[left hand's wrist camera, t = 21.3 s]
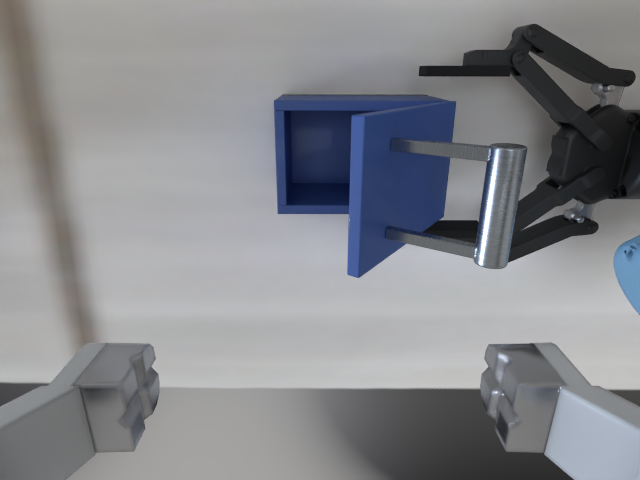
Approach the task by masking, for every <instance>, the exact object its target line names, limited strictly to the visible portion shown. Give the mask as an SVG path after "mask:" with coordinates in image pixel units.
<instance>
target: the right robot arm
mask: <svg viewBox="0 0 640 480" xmlns="http://www.w3.org/2000/svg"><path fill="white" fill-rule="evenodd" d="M529 51H531V52H532V53H534V54H536V55H537V56H539V57H541V58H542V59H544V60H546V61H548V62H549V63H551V64H553V65H554V66H556V67H558V68H560V69H561V70H563V71H565V72H566V73H568V74H570V75H571V76H573V77H575V78H577V79H578V80H580V81H582V82H585V83H589V84H592V85H591V90H592V92H593V93H594V94H596V95H598V96H599V98H600V104H598V105H595V106H594V107H592V108H591V109H589V110H587V111H586V112H585V111H584V110H583V109H582V108H581V107H579V106H577V105H576V104H575V103H574V102H573V101H572V100H571V99H570V98H569V97H568V96H567V95H566V94H565V92H564V91H563V90H562V89H561V88H560V87H559V86H558V85H557V84H556V83H555V82H554V81H553V80H552V79H551V78H550V77H549V75H548V74H547V73H546V72H545V71H544V70H543V69H542V68H541V67H540V66H539V65H538V64H537V63H536V62H535V61H534V60H533V58H532V57H531V56H530V55H529V54H528V53H529ZM510 74H511V75H512V76H513V77H514V78H515V79H516V80H517V81H518V82H519V83H520V84H521V85H522V86H523V87H524V88H525V89H526V90H527V91H528V92H529V93H530V94H531V95H532V96H533V97H534V98H535V99H536V100H537V102H538V103H539V104H540V105H541V106H542V107H543V108H544V109H545V110H546V111H547V112H548V113H549V114H550V117H551V118H552V119H553V120H554V121H555V122H556V124H557V125H558V126H559V127H560V128H561V129H560V130H559V131H558V132H557V134H556V135H553V138H552V143H551V147H552V154H551V156H550V159H549V161H548V164H547V169H546V171H548V172H549V175H550V176H549V177H548V178H547V179H545V180H544V181H542V182H541V183H539V184H538V185H537V188H536V189H535V190H534V191H533V192H531V193H530V194H528V195H527V196H526V197H524V198H523V199H521V200H520V201H518V205H517V211H516V217H515V223H514V228H513V234H512V240H511V246H510V252H509V258H508V262H511V261H513V260H516V259H518V258H520V257H523V256H525V255H528V254H530V253H532V252H535V251H537V250H540V249H542V248H544V247H547V246H549V245H552V244H554V243H556V242H559V241H561V240H564V239H566V238H568V237H571V236H578V235H588V234H593V233H595V232H596V231H597V230H598V224H597V223H596V222H594V221H593V220H592V219H593V211H594V204H595V203H597V202H599V201H602V200H605V199H640V110H623V109H621V108H620V107H619V106H618V104H619V101H620V98H621V95H622V92H623V89H624V87H627V86H630V85H631V84H632V83H633V82H634V81H635V77H636V76H635V73H634V72H633V71H631V70H622V69H614V68H609V67H607V66H606V65H604V64H602V63H601V62H599V61H597V60H596V59H594V58H592V57H591V56H589V55H587V54H586V53H584V52H582V51H581V50H579V49H577V48H576V47H574V46H572V45H571V44H569V43H567V42H566V41H564V40H562V39H561V38H559V37H557V36H556V35H554V34H552V33H551V32H549V31H547V30H546V29H544V28H542V27H541V26H539V25H537V24H531V25H526V26H522V27H518V28H516V29H515V30H514V31H513V33H512V40H511V42H510V44H509V46H508V47H507V48H506V49H504V50H473V51H469V52H467V53H464V59H463V66H420V68H419V76H510ZM559 187H561V188H559ZM557 188H559V189H557ZM573 198H574V199H576V200H577V201H578V202H577V205H576V206H575V207H574V208H571V209H569V210H565V211H564V215H559V216H555V217H552V218H550V219H547V220H545V221H543V222H540V223H538V224H535V225H533V226H531V227H528V228H526V229H524V228H525V227H526V226H528V225H529V224H531V223H532V222H534V221H535V220H537V219H538V218H540V217H541V216H542V215H544V214H545V213H547V212H548V211H550V210H551V209H553V208H554V207H556V206H561V205H564V204H565V203H567V202H568V201H570V200H571V199H573ZM478 224H479V222H478V221H477V220H438V221H437V222H435V223H434V224H433V225H431V226H430V227H429V228H427V229H426V230H424V231H423V232H422V233H427V234H432V235H437V236H441V237H446V238H451V239H456V240H461V241H465V242H470V243H475V244H476V238H477V231H478ZM522 229H524V230H522ZM614 270H615V274H616V277H617V279H618V282H619V285H620V287H621V289H622V290H623V292H624V294H625V296H626V297H627V299H628V300H629V302H630V303H631V305H632V306H633V308H634V309H635V310H636V311H637V312H638V314H639V315H640V235H639V236H637V237H635V238H633V239H631V240H629V241H626V242H624V243H623V244H621V245H620V246H619V247H618V249H617V250H616V252H615V256H614Z"/></svg>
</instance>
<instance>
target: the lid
mask: <svg viewBox="0 0 640 480" xmlns="http://www.w3.org/2000/svg"><path fill="white" fill-rule="evenodd" d="M455 108H456V102H455V101H443V102H437V103H430V104H423V105H417V106H410V107H403V108H397V109H390V110H383V111H377V112H370V113H363V114H357V115H352V122H351V159H350V197H349V234H348V271H347V274H348V275H350V276H354V277H357V278H359V277H361V276H362V275H364V274H365V273H366V272H368V271H369V270H371V269H372V268H373V267H375V266H376V265H377V264H379V263H380V262H382V261H383V260H384V259H386V258H387V257H388V256H390V255H391V254H393V253H394V252H395V251H397V250H398V249H400V248H401V247H402V246H404V245H405V244H406V243H408V244H412V245H416V246H421V247H425V248H430V249H434V250H438V251H443V252H447V253H452V254H456V255H460V256H465V257H469V258H474V262H475V263H476V264H477V265H479V266H482V267H485V268H490V269H501V268H504V267H506V266H507V263H508V258H509V252H510V246H511V240H512V234H513V228H514V223H515V217H516V211H517V205H518V199H519V193H520V188H521V182H522V176H523V170H524V164H525V158H526V153H527V147H526V146H523V145H519V144H510V143H496V144H491V145H490V146H483V145H472V144H461V143H452V136H453V127H454V117H455ZM450 157H451V158H461V159H470V160H479V161H487V167H486V174H485V181H484V188H483V195H482V202H481V210H480V217H479V224H478V231H477V238H476V244H475V243H470V242H465V241H461V240H456V239H451V238H446V237H441V236H437V235H432V234H427V233H422V232H423V231H424V230H426V229H427V228H429V227H430V226H431V225H433V224H434V223H435V222H437V221H438V220H440V219H441V218H442V217H443V216H444V209H445V200H446V191H447V182H448V172H449V163H450Z"/></svg>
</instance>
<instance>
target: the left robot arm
mask: <svg viewBox="0 0 640 480" xmlns="http://www.w3.org/2000/svg"><path fill="white" fill-rule="evenodd" d="M155 359H156V358H155V353H154V348H153V346H152V345H151V344H139V343H88V344H84V345H83V346H82V348H81V349H80V350H79V351H78V352H77V353H76V354H75V356H74V357H73V358H72V359H71V360H70V361H69V363H68V364H67V365H66V366H65V367H64V368H63V369H62V371H61V372H60V373H59V374H58V375H57V376H56V377H55V379H54V380H53V381H52V382H51V383H50V384H49V385H48V386H40V387H38V388H36V389H34V390H32V391H30V392H28V393H26V394H25V395H22V396H21V397H18V398H17V399H15V400H13V401H11V402H9V403H7V404H5V405H3V406H1V407H0V480H66V479H67V478H68V477H70V476H71V475H72V474H73V473H74V472H75V471H77V470H78V469H79V468H80V467H81V466H83V465H84V464H85V463H86V462H87V461H88V460H90V459H91V458H92V457H93V456H94V455H95V453H96V452H131V451H134V450H135V448H136V446H137V444H138V442H139V440H140V438H141V436H142V434H143V432H144V430H145V424H144V420H145V419H146V418H147V417H149V416H150V415H152V414H153V412H154V409H155V407H156V405H157V401H158V396H159V376H158V373H157V372H156V371H155V370H154V369H153V368H152V367H151V366H152V364H153V363H154V361H155ZM484 359H485V361H486V363H487V364H488V366H489V367H488V368H487V369H486V370H485V371H484V372H483V373H482V377H481V385H480V387H481V398H482V401H483V405H484V407H485V409H486V412H487V414H488V415H490V416H491V417H493V418H494V419H495V420H496V424H495V430H496V432H497V434H498V436H499V438H500V440H501V442H502V444H503V446H504V448H505V450H506V451H507V452H542V453H543V452H544V453H545V455H546V456H547V457H548V458H549V459H551V460H552V461H553V462H554V463H555V464H556V465H558V466H559V467H560V468H561V469H562V470H564V471H565V472H566V473H567V474H568V475H569V476H571V477H572V478H573V479H574V480H640V407H639V406H637V405H635V404H633V403H631V402H629V401H627V400H625V399H623V398H621V397H619V396H617V395H615V394H614V393H612V392H610V391H608V390H606V389H604V388H602V387H600V386H592V385H591V384H590V383H589V382H588V381H587V380H586V379H585V377H584V376H583V375H582V374H581V373H580V372H579V371H578V369H577V368H576V367H575V366H574V365H573V364H572V363H571V361H570V360H569V359H568V358H567V357H566V356H565V355H564V353H563V352H562V351H561V350H560V349H559V348H558V346H557V345H555V344H553V343H530V344H489V345H488V347H487V349H486V352H485V358H484Z"/></svg>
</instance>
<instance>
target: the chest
mask: <svg viewBox="0 0 640 480" xmlns="http://www.w3.org/2000/svg"><path fill="white" fill-rule="evenodd" d="M443 101H448V100H443V99H439V98H435V97H430V96H427V95H282V96H281V97H279V98H278V99H276V100H274V110H275V111H274V117H275V146H276V174H277V203H278V214H349V197H350V159H351V122H352V115H357V114H363V113H370V112H377V111H383V110H390V109H397V108H403V107H410V106H417V105H423V104H430V103H437V102H443Z"/></svg>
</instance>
